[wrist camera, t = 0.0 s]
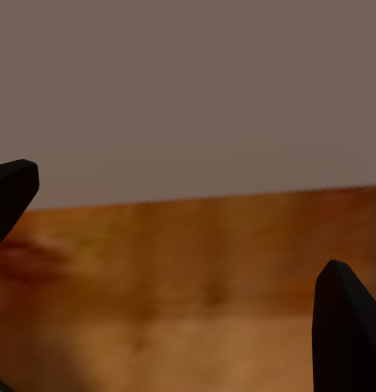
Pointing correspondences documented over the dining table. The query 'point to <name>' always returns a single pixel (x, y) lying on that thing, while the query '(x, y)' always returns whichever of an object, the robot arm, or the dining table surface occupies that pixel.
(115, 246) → the dining table surface
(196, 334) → the dining table surface
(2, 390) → the base
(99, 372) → the dining table surface
